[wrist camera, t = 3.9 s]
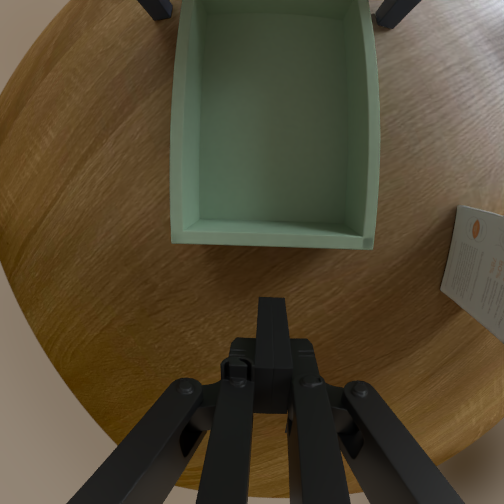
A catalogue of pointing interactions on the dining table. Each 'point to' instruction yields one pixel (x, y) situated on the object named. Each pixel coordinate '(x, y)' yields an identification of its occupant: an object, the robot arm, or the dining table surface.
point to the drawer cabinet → (388, 15)
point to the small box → (477, 267)
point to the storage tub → (275, 124)
